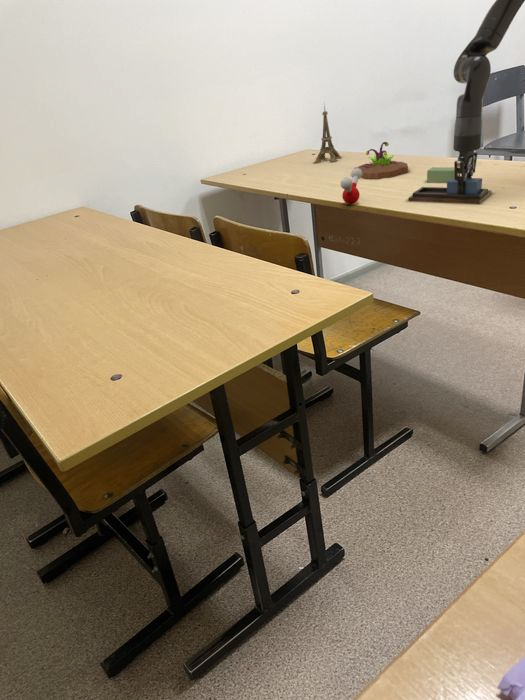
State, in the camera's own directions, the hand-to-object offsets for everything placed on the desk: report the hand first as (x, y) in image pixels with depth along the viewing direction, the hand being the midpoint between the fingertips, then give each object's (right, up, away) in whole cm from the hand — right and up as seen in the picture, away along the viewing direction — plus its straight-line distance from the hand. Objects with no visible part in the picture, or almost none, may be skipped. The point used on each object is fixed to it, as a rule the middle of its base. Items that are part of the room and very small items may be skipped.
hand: (464, 191), depth 163 cm
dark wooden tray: (-3, -1, +4) cm, 5 cm away
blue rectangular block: (0, -1, 0) cm, 1 cm away
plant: (-15, +21, +47) cm, 53 cm away
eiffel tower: (-32, +39, +83) cm, 98 cm away
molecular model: (-33, -1, +11) cm, 35 cm away
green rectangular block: (+1, +11, +23) cm, 26 cm away
